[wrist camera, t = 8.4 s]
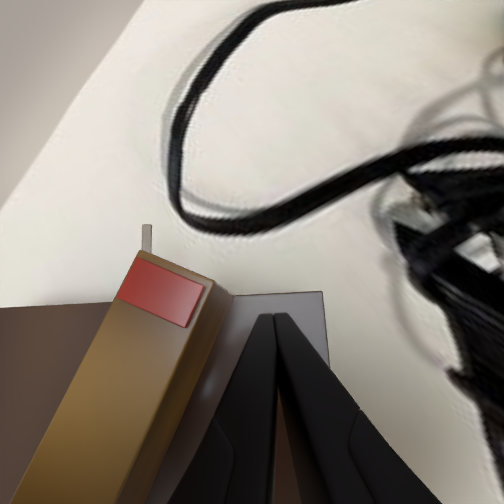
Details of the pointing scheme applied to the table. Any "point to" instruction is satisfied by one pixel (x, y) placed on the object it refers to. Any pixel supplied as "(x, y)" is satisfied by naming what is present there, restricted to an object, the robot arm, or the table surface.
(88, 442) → the tan wooden plank
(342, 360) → the table surface
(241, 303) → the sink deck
